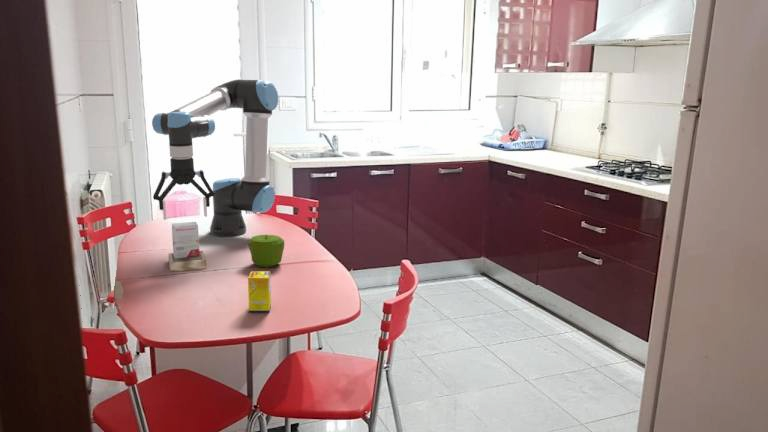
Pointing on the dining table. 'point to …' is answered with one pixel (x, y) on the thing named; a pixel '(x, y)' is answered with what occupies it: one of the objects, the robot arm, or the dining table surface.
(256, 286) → the supplement box
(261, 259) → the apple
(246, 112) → the robot arm
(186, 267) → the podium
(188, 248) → the ink box
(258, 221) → the dining table surface
